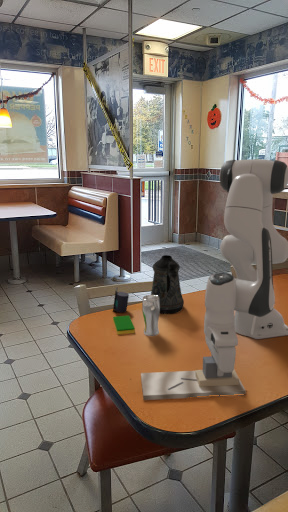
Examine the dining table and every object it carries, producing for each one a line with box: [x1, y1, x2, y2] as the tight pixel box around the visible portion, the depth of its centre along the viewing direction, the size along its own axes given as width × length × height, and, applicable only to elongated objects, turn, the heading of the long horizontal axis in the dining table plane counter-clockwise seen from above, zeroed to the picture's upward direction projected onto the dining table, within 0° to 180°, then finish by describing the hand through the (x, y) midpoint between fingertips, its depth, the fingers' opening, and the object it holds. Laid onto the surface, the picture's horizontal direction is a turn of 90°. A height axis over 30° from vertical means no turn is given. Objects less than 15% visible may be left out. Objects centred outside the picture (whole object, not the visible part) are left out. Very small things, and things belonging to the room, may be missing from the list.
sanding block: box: [194, 355, 240, 387], centre depth 117 cm, size 12×6×7 cm, turn 94°
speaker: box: [112, 286, 130, 314], centre depth 176 cm, size 8×6×10 cm
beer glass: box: [141, 294, 161, 337], centre depth 152 cm, size 7×7×15 cm
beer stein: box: [150, 254, 185, 315], centre depth 176 cm, size 16×19×25 cm
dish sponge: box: [112, 314, 136, 336], centre depth 160 cm, size 7×14×2 cm, turn 11°
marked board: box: [140, 370, 247, 401], centre depth 117 cm, size 30×12×2 cm, turn 94°
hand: (217, 370), depth 117 cm, fingers closed on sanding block, 4 cm apart
